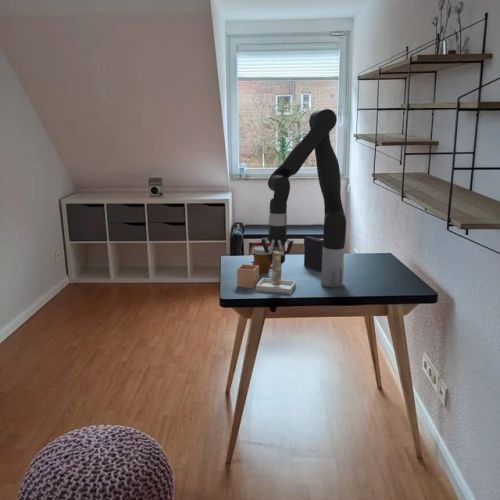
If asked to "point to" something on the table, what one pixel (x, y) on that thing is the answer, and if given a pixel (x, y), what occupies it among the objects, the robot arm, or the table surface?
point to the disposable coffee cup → (261, 259)
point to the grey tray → (284, 288)
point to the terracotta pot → (247, 276)
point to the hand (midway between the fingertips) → (276, 262)
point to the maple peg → (276, 268)
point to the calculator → (313, 253)
